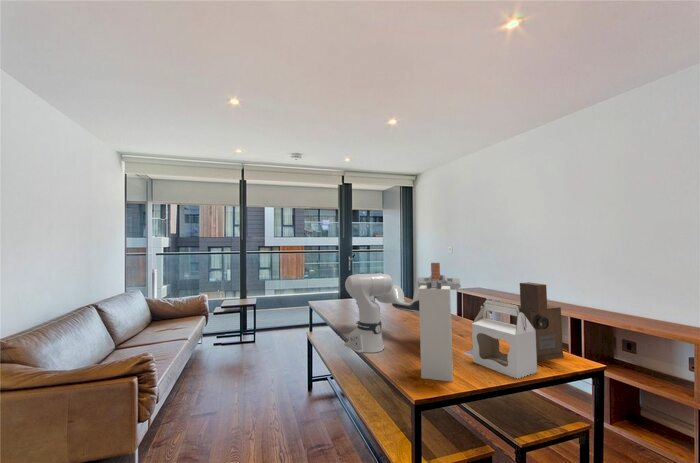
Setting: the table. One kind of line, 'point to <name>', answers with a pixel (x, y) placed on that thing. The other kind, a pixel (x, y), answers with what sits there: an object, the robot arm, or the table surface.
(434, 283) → the brown flat block
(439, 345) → the post
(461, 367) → the table surface
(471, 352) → the mobile phone
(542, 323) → the vintage camera
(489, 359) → the gable box
